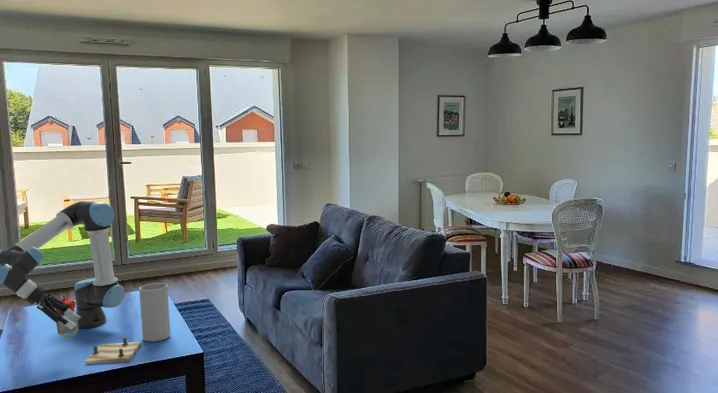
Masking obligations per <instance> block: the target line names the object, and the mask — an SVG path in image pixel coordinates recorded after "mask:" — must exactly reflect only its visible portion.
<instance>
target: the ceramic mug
mask: <svg viewBox="0 0 718 393" xmlns="http://www.w3.org/2000/svg"><path fill="white" fill-rule="evenodd" d="M65 317H66V318H68V319H69V320H71V321H72V322H73V323H75V324H76V325H75V326H74V328H73V329H72V330H71V329H69V328H68V327H66V326H65V325H64V324H62V323H61V322H59V321H58V322H55V324H56V330H57V334H58V335H61V337H62V338H64V339H69V338H73V337H74V336H75V335H76V334H77V333H78V332H79V329H80V328H78V322H77V317H76V314H73V315H69V316H67V315H65Z"/></svg>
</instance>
